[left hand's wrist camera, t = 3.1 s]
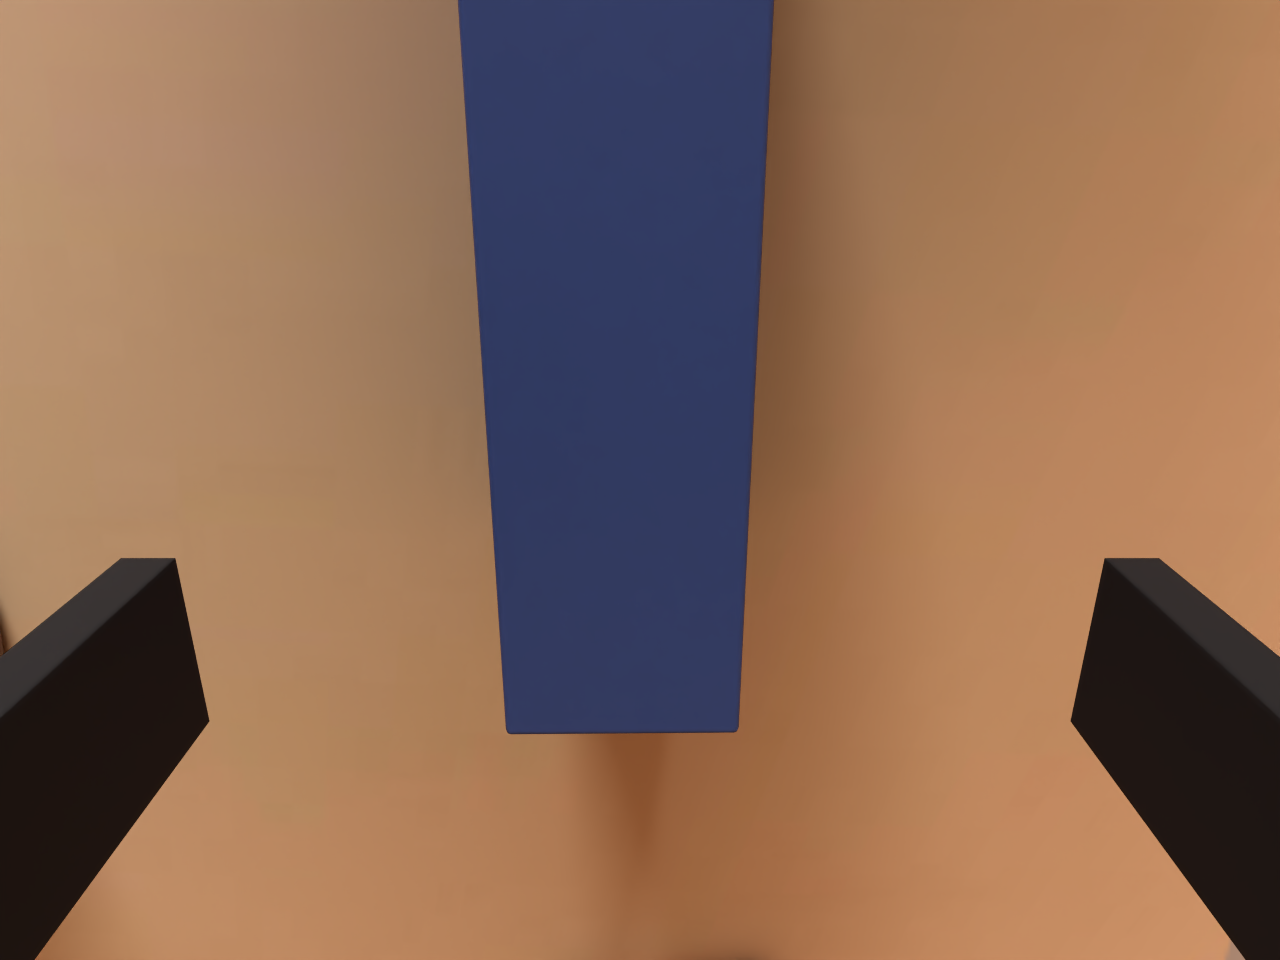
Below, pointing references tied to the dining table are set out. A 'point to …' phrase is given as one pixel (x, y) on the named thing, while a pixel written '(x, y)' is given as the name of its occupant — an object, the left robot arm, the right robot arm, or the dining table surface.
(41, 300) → the dining table surface
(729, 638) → the bar
